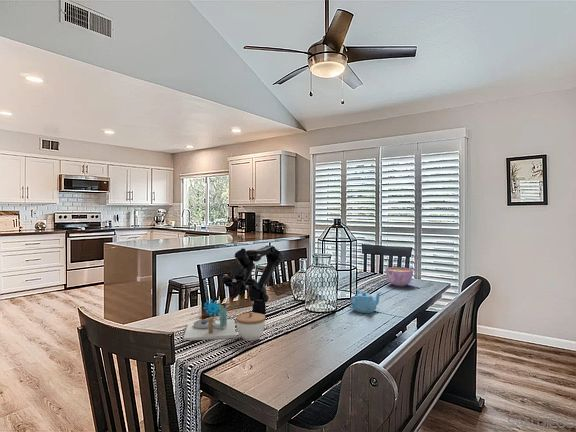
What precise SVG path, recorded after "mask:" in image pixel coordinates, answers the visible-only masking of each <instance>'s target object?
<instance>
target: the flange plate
mask: <svg viewBox="0 0 576 432" xmlns="http://www.w3.org/2000/svg"><path fill="white" fill-rule="evenodd" d="M227 311H228V310H227V307H223V308H221V309H220V312H219V313H220V315H219V320H220V324H216V322H215V321H216V320H214V319H213V328H219V329H225V328H227V320H228V319H227V316H228V315H227V314H228V313H227ZM194 322H195V323H194V327H195V328H199V329H205V328H209V326H208V319H201V320H200V319H199V320H197V321H194Z"/></svg>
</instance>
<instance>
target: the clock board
mask: <svg viewBox="0 0 576 432" xmlns="http://www.w3.org/2000/svg"><path fill="white" fill-rule="evenodd" d="M207 320H208V326H209V328H205V329H199V328H195V327H194V323H195V322H196V321H188V323H187V326H186V329H185V332H184V335H183V339H182V340H183V341H184V342H187V341H186V340H190V341H201V340H202V341H203V340H204V341H205V340H219V339H221V340H222V339H235V338H236V321H235V320H236V319H227V328H225V329H219V328H213V320H214V319H213V318H212V317H211V318H208V319H207ZM214 321H215V322H216V324H220V319H219V320H214Z"/></svg>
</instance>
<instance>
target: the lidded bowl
mask: <svg viewBox="0 0 576 432" xmlns="http://www.w3.org/2000/svg"><path fill="white" fill-rule="evenodd" d="M235 320H236V321H235V325H236V330H237V332H238V333H237V334H238V335H239V336H240V337H241V338H242V339H243V341H248V342H249V341H256V340H259V339H260V337H261V336H262V335H263V333H264V331H265V326H266V316H265V315H264V314H260V313H253V311H249V312H245V313H241V314H238V315H236V317H235Z"/></svg>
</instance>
